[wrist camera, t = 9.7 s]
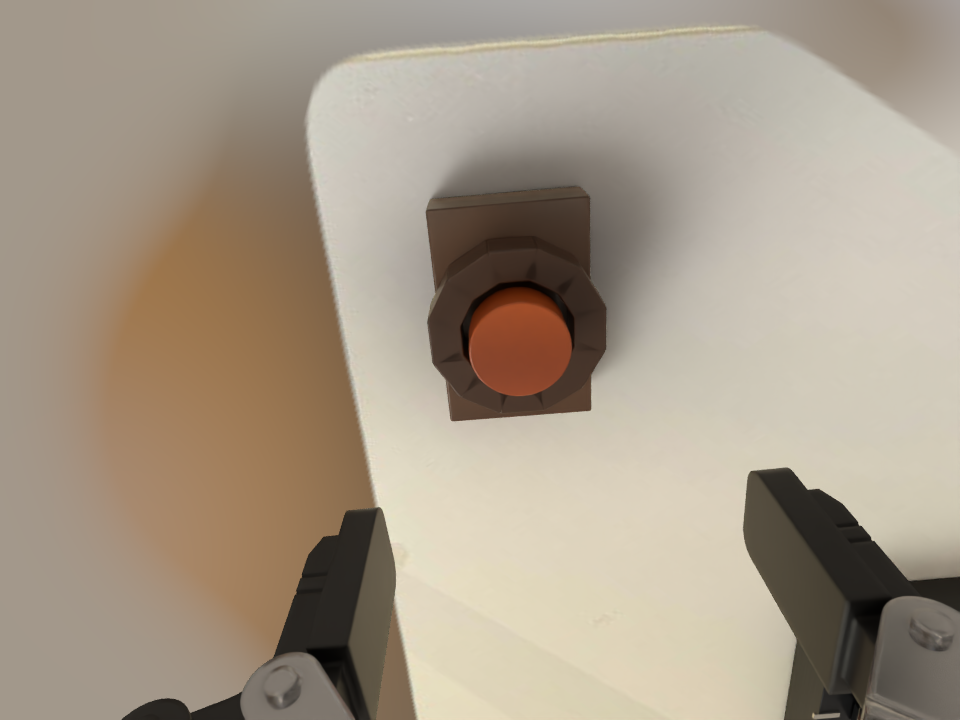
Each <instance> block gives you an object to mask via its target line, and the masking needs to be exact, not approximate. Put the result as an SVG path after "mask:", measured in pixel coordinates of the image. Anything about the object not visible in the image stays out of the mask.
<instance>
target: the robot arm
mask: <svg viewBox="0 0 960 720" xmlns="http://www.w3.org/2000/svg"><path fill="white" fill-rule="evenodd" d="M743 532H744V540H745V544H746V547H747V550H748V553H749V555H750V557H751V559H752V561H753V563H754V564H755V566H756V568H757V570H758V571H759V573H760V575H761V577H762V578H763V580H764V582H765V584H766V585H767V587H768V589H769V591H770V593H771V594H772V596H773V598H774V600H775V601H776V603H777V605H778V607H779V608H780V610H781V612H782V614H783V615H784V617H785V619H786V621H787V622H788V624H789V626H790V628H791V629H792V631H793V633H794V635H795V636H796V638H797V640H798V642H799V643H800V645H801V647H802V649H803V650H804V652H805V654H806V656H807V657H808V659H809V661H810V663H811V664H812V666H813V668H814V670H815V671H816V673H817V675H818V677H819V678H820V680H821V682H822V684H823V685H824V687H825V689H826V691H827V693H828V694H829V695H837V694H849V693H852V694H853V695H854V697H855V699H856V700H857V702H858V704H859V705H860V709H859V713H858V718H857V720H960V612H958V611H956V610H955V609H953V608H951V607H949V606H947V605H945V604H943V603H940V602H938V601H935V600H932V599H928V598H923V597H922V596H921V595H920V594H919V593H918V592H917V591H916V589H915V588H914V587H913V586H912V585H911V584H910V582H909V581H908V580H907V579H906V578H905V576H904V575H903V574H902V573H901V572H900V571H899V569H898V568H897V567H896V566H895V565H894V564H893V562H892V561H891V560H890V559H889V558H888V557H887V555H886V554H885V553H884V552H883V551H882V550H881V548H880V547H879V546H878V545H877V544H876V542H875V541H872V540H871V537H870V535H869V534H868V533H867V532H866V531H865V530H864V528H863V527H862V526H859V525H858V521H857V520H856V519H855V518H854V517H853V516H852V514H851V513H850V512H849V511H848V510H847V508H846V507H845V506H844V505H843V504H842V503H840V502H839V501H837V500H836V499H834V498H832V497H831V496H829V495H828V494H826V493H825V492H823V491H821V490H820V489H813V490H807V489H806V487H805V486H804V485H803V484H802V482H801V481H800V480H799V479H798V477H797V476H796V475H795V474H794V472H793V471H792V470H791V469H789V468H777V469H767V470H757V471H751V472H750V473H749V475H748V480H747V490H746V501H745V513H744V524H743ZM395 587H396V570H395V562H394V557H393V552H392V548H391V544H390V539H389V535H388V531H387V527H386V522H385V518H384V514H383V511H382V509H381V508H380V507H378V508H368V509H358V510H349V511H347V512H346V513H345V515H344V518H343V522H342V525H341V529H340V532H339V535H336V536H326V537H323V538H322V539H321V541H320V542H319V543H318V544H317V546H315V548H314V549H313V550H312V551H311V552H310V554H309V555H308V558H307V561H306V564H305V567H304V569H303V572H302V578H301V579H300V581H299V584H298V587H297V590H296V591H297V593H296V595H295V596H294V599H293V602H292V605H291V608H290V611H289V614H288V617H287V619H286V622H285V625H284V628H283V631H282V635H281V637H280V640H279V643H278V646H277V649H276V652H275V655H274V657H273V659H271V660H269V661H267V662H266V663H264V664H263V665H262V666H261V667H259V668H258V669H257V670H256V671H255V672H254V673H253V674H252V676H251V677H250V678H249V680H248V681H247V683H246V685H245V687H244V689H243V691H242V692H240V693H239V694H237V695H235V696H233V697H231V698H228V699H226V700H223V701H221V702H218V703H216V704H213V705H210V706H208V707H205V708H202V709H200V710H197V711H195V712H192V713H190V712H189V710H188V708H187V707H186V706H185V704H184V703H182V702H181V701H179V700H176V699H169V698H167V699H159V700H155V701H152V702H149V703H146V704H145V705H142V706H140V707H138V708H137V709H135V710H133V711H132V712H131V713H130V714H128V715H127V716H125V717H124V718H123V719H122V720H376V714H377V708H378V701H379V695H380V688H381V681H382V674H383V668H384V661H385V655H386V648H387V641H388V634H389V628H390V621H391V615H392V608H393V601H394V595H395Z"/></svg>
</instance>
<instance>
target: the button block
mask: <svg viewBox="0 0 960 720" xmlns="http://www.w3.org/2000/svg"><path fill="white" fill-rule="evenodd" d="M426 218H427V227H428V235H429V243H430V252H431V260H432V268H433V277H434V285H435V295H434V298H433V300H432V302H431V305H430V310H429V316H428V321H427V324H428V332H429V339H430V347H431V355H432V363H433V364H434V366H435V367H436V368H437V370H438V371H439V372H440V373H441V375H442V376H443V377H444V378H445V380H446V385H447V394H448V402H449V410H450V419H451V421H463V420H476V419H489V418H502V417H515V416H528V415H541V414H554V413H567V412H580V411H590V410H591V374H592V372H593V370H594V369H595V367H596V365H597V364H598V362H599V360H600V359H601V357H602V356H603V354H604V352H605V350H606V306H605V303H604V301H603V300H602V298H601V296H600V294H599V293H598V291H597V289H596V288H595V286H594V285H593V283H592V282H591V277H590V197H589V195H588V194H587V193H586V192H585V191H584V190H583V189H582V188H581V187H580V186H576V187H564V188H553V189H541V190H529V191H518V192H506V193H495V194H483V195H471V196H460V197H448V198H437V199H430V201H429V203H428V206H427V209H426ZM510 287H528V288H532V289H535V290H538V291H540V292H542V293H544V294H546V295H547V296H549V297H550V298H551V299H552V300H553V301H554V302H555V303H556V304H557V305H558V307H559V308H560V310H561V312H562V314H563V317H564V319H565V322H566V325H567V328H568V330H569V333H570V336H571V341H572V353H571V359H570V361H569V364H568V366H567V368H566V370H565V372H564V373H563V375H562V376H561V377H560V378H559V379H558V380H557V381H556V382H555V383H554V384H553V385H551V386H550V387H548V388H547V389H545V390H543V391H541V392H538V393H535V394H532V395H526V396H511V395H506V394H502V393H500V392H497V391H495V390H493V389H491V388H490V387H488V386H487V385H486V384H484V383H483V382H482V381H481V380H480V379H479V378H478V376H477V375H476V373H475V372H474V370H473V368H472V365H471V362H470V358H469V326H470V322H471V318H472V316H473V314H474V312H475V310H476V309H477V307H478V306H479V305H480V303H481V302H482V301H484V300H485V299H486V298H487V297H488V296H490V295H491V294H493V293H495V292H497V291H499V290H502V289H505V288H510Z"/></svg>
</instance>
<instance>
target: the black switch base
mask: <svg viewBox="0 0 960 720" xmlns="http://www.w3.org/2000/svg"><path fill="white" fill-rule="evenodd" d="M910 584H911V585H912V586H913V587H914V588H915V589H916V591H917V592H918V593H919V594H920V595H921V596H922V597H923V598H928V599H932V600H935V601H938V602H940V603H943V604H945V605H947V606H949V607H951V608H953V609H955V610H956V611H958V612H960V578H949V579H938V580H926V581H915V582H910ZM855 703H858V702H857V700H856V699H855V697H854V695H853V694H852V693H849V694H837V695H829V694H828V693H827V691H826V689H825V687H824V685H823V684H822V682H821V680H820V678H819V677H818V675H817V673H816V671H815V670H814V668H813V666H812V664H811V663H810V661H809V659H808V657H807V656H806V654H805V652H804V650H803V649H802V647H801V645H800V643H799V642H798V640H797V645H796V651H795V658H794V664H793V670H792V676H791V682H790V688H789V694H788V700H787V706H786V712H785V718H784V720H851V717H852V713H853V709H854V705H855Z"/></svg>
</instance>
